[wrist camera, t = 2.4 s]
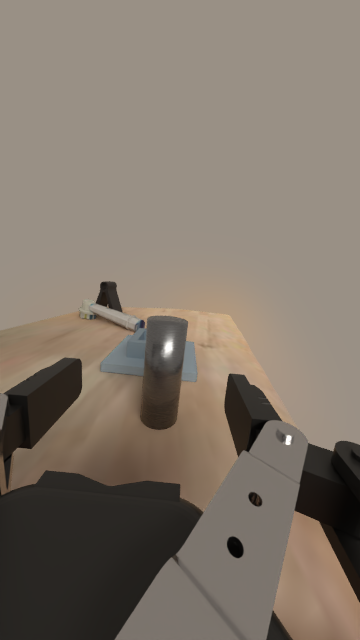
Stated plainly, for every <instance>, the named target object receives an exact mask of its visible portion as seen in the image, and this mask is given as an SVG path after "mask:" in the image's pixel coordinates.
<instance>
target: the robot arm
mask: <svg viewBox="0 0 360 640" xmlns="http://www.w3.org/2000/svg"><path fill="white" fill-rule="evenodd" d="M81 389H82V363H81V360H80V359H75V358H63V359H61V360H60V361H58V362H57V363H55V364H54V365H52V366H50V367H47V368H45V369H42V370H40V371H39V372H37V373H35V374H34V375H33V376H31V377H29V378H27V379H26V380H24V381H23V382H21V383H19V384H18V385H16V386H15V387H13V388H11V389H10V390H8V391H7V392H5V393H4V394H1V393H0V640H293V639H292V638H291V636H290V635H289V633H288V632H287V630H286V629H285V628H284V626H283V625H282V623H281V622H280V620H279V619H278V617H277V616H276V614H275V613H274V611H273V606H274V602H275V597H276V592H277V588H278V583H279V579H280V574H281V569H282V565H283V560H284V556H285V551H286V547H287V542H288V537H289V533H290V528H291V524H292V519H293V514H294V510H295V511H297V512H299V513H301V514H304V515H306V516H308V517H311V518H313V519H315V520H318V521H319V522H320V524H321V526H322V528H323V530H324V532H325V534H326V536H327V538H328V540H329V542H330V544H331V546H332V548H333V550H334V552H335V554H336V556H337V558H338V560H339V562H340V564H341V566H342V568H343V570H344V572H345V574H346V576H347V578H348V580H349V582H350V584H351V586H352V588H353V590H354V592H355V594H356V596H357V598H358V600H359V602H360V445H358V444H355V443H352V442H348V441H339V442H337V443H336V445H335V448H334V451H330V450H327V449H324V448H321V447H318V446H315V445H312V444H309V443H308V440H307V438H306V437H305V435H304V434H303V433H302V432H301V431H300V430H298V429H297V428H296V427H294V426H292V425H290V424H288V423H286V422H283V421H282V420H281V418H280V417H279V416H278V414H277V413H276V411H275V410H274V408H273V407H272V405H270V402H269V401H268V399H266V396H265V395H264V393H263V392H262V391H261V390H260V389H259V388H257V387H256V386H255V385H250V384H249V382H248V380H247V379H246V377H245V375H240V374H229V376H228V382H227V389H226V395H225V414H226V417H227V420H228V424H229V427H230V431H231V434H232V438H233V441H234V444H235V448H236V451H237V455H238V459H237V460H236V462H235V464H234V465H233V467H232V468H231V470H230V472H229V473H228V475H227V476H226V478H225V479H224V481H223V483H222V484H221V486H220V487H219V489H218V491H217V492H216V494H215V495H214V497H213V499H212V500H211V502H210V503H209V505H208V507H207V508H206V510H205V511H204V513H203V512H202V511H201V510H200V509H199V508H197V507H196V506H195V505H193V504H192V503H190V502H188V501H186V500H184V499H182V498H180V484H173V483H163V482H153V481H143V482H136V483H130V484H123V485H117V486H106V485H104V484H101V483H99V482H97V481H94V480H92V479H90V478H87V477H85V476H82V475H80V474H75V473H65V472H56V471H45V472H44V474H43V475H42V476H41V478H40V479H39V480H38V482H37V483H36V484H32V485H28V486H24V487H21V488H18V489H15V490H12V491H10V490H11V481H12V471H13V461H14V456H13V452H14V451H15V450H16V449H17V448H27V449H32V448H33V446H34V445H35V444H36V443H37V442H38V441H39V440H40V439H41V438H42V437H43V435H44V434H45V433H46V432H47V431H48V430H49V429H50V428H51V427H52V426H53V425H54V423H55V422H56V421H57V420H58V419H59V418H60V417H61V416H62V415H63V414H64V412H65V411H66V410H67V409H68V408H69V407H70V406H71V405H72V404H73V403H74V401H75V400H76V399H77V398H78V397H79V395H80V393H81Z"/></svg>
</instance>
